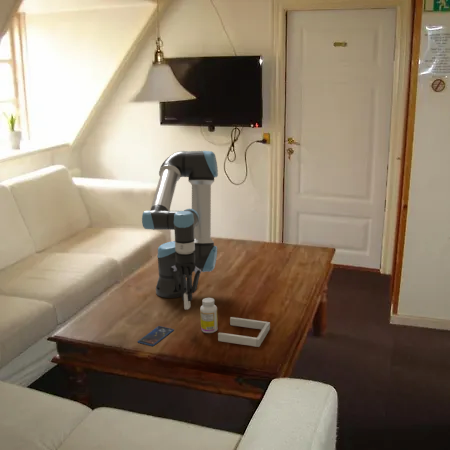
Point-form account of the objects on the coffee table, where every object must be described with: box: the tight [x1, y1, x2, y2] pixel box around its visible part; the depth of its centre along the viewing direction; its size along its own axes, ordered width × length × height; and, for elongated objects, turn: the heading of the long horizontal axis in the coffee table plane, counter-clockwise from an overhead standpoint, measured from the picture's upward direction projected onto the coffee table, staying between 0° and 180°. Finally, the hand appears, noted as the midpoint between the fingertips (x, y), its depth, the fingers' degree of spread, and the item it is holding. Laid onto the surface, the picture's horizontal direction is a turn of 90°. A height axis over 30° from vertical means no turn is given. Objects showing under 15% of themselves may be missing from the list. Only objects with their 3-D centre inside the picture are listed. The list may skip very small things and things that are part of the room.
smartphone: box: [136, 325, 175, 347], centre depth 226 cm, size 8×1×15 cm
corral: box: [217, 316, 271, 348], centre depth 225 cm, size 16×15×3 cm
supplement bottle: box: [199, 297, 219, 334], centre depth 228 cm, size 7×7×13 cm
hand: (187, 307), depth 230 cm, fingers closed
